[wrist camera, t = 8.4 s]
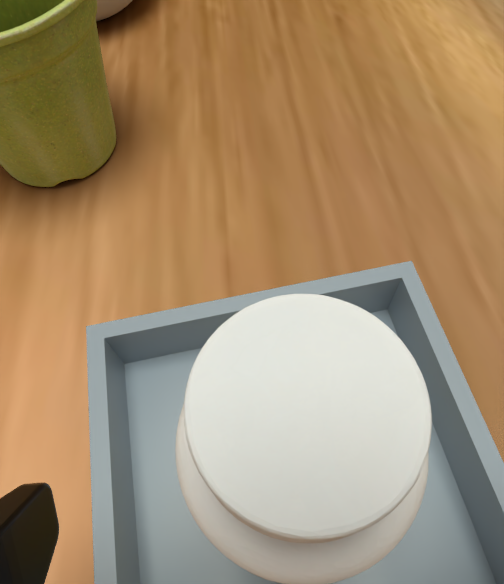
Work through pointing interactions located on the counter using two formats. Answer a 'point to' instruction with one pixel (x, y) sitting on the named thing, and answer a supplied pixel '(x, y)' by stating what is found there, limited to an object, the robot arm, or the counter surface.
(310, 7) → the counter surface
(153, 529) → the tray
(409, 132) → the counter surface
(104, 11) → the dark grey egg-shaped device
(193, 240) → the counter surface
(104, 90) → the plant pot
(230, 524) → the supplement bottle
